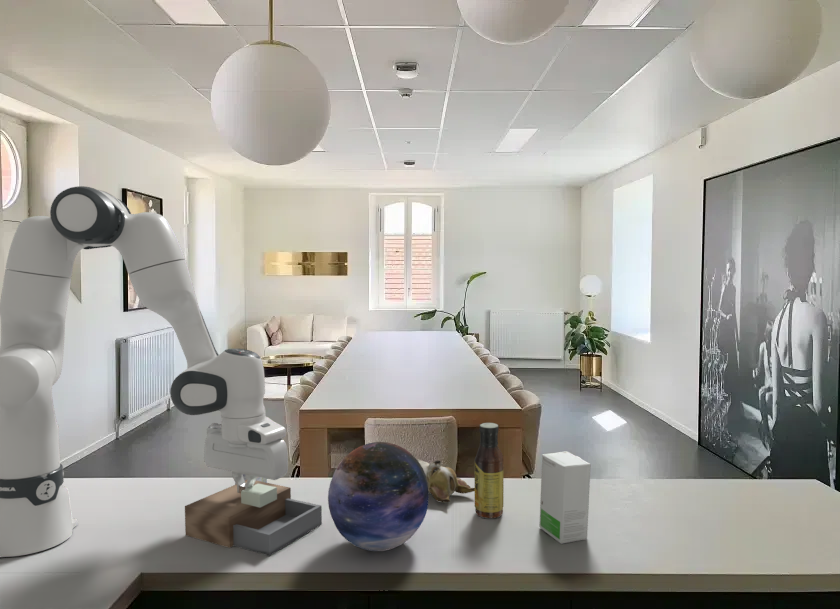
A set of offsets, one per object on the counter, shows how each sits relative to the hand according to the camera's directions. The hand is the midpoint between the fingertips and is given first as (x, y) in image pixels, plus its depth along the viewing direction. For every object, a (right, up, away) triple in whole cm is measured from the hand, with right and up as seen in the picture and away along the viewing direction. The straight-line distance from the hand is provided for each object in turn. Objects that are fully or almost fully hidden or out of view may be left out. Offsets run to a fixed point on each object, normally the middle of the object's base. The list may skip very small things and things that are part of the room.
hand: (245, 493), depth 129 cm
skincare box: (+65, -7, -4) cm, 66 cm away
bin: (+8, -7, -4) cm, 11 cm away
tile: (+3, -1, -2) cm, 4 cm away
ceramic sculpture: (+41, -6, +17) cm, 45 cm away
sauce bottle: (+51, -7, +6) cm, 52 cm away
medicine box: (-4, -6, +19) cm, 21 cm away
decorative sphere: (+28, -8, -9) cm, 31 cm away
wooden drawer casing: (-1, -7, +1) cm, 7 cm away
